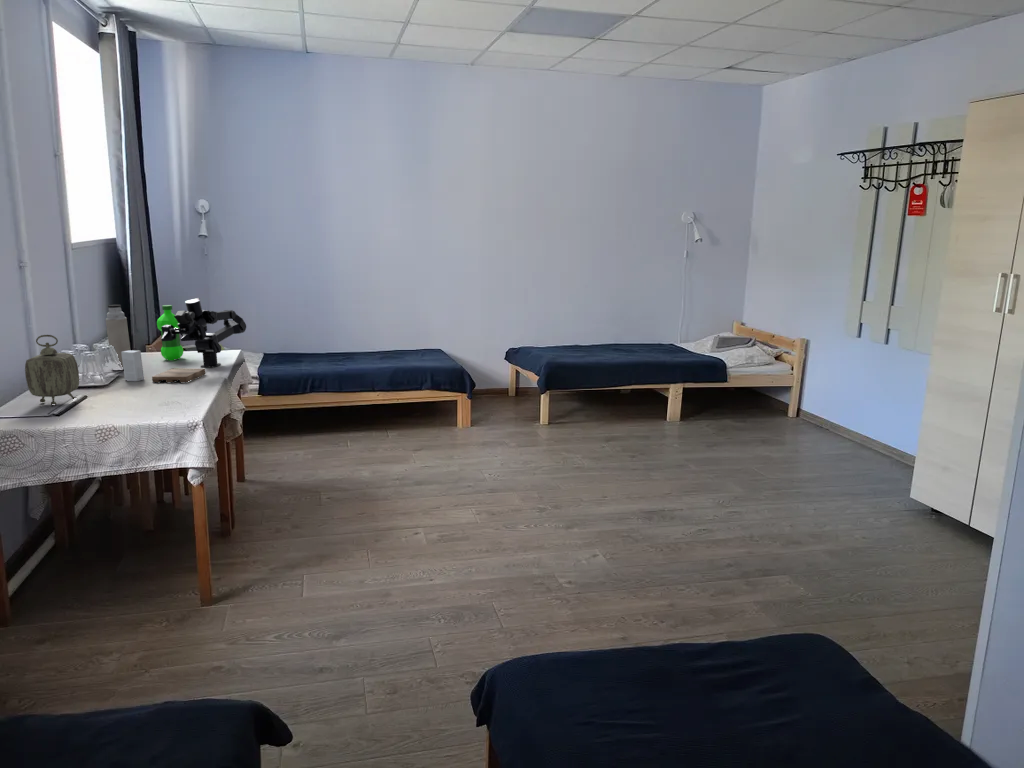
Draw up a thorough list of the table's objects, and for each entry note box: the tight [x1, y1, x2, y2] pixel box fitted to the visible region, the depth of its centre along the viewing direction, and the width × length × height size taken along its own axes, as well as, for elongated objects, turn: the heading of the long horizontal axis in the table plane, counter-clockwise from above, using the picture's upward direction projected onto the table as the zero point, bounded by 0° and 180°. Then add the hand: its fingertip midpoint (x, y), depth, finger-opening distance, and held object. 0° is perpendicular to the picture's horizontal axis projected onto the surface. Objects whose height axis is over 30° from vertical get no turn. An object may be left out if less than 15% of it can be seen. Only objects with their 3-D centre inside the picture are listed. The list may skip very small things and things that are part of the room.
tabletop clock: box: [24, 334, 80, 406], centre depth 262 cm, size 14×9×25 cm, turn 100°
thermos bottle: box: [105, 304, 131, 367], centre depth 321 cm, size 8×8×28 cm
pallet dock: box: [151, 367, 206, 383], centre depth 304 cm, size 16×14×2 cm
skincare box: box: [121, 349, 145, 382], centre depth 301 cm, size 6×4×12 cm
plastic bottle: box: [156, 304, 184, 361], centre depth 341 cm, size 10×10×25 cm
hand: (171, 340), depth 302 cm, fingers open, 9 cm apart
